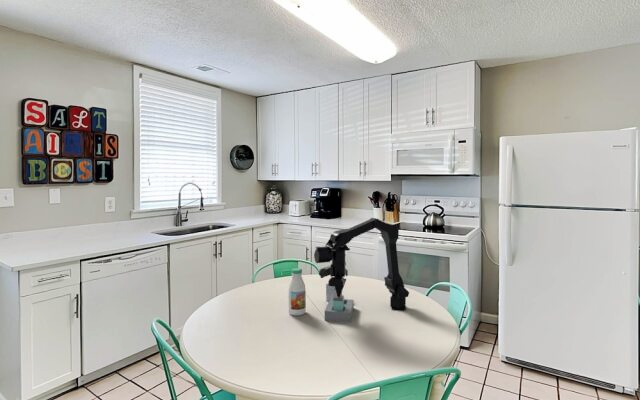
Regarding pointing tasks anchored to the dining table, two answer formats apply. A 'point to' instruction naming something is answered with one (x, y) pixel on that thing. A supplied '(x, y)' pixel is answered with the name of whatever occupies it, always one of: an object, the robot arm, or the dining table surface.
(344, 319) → the socket plate
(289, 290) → the milk bottle
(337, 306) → the plug
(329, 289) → the medicine box
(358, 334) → the dining table surface
